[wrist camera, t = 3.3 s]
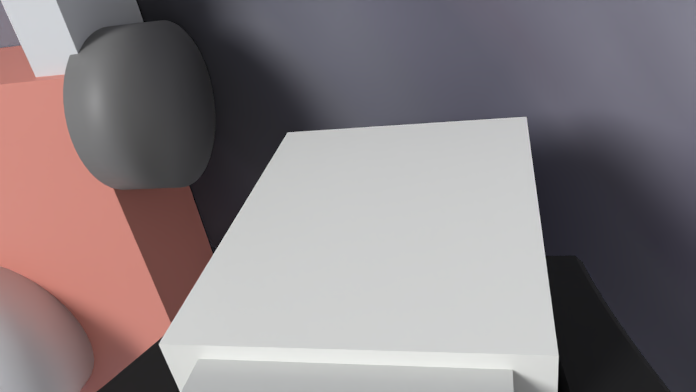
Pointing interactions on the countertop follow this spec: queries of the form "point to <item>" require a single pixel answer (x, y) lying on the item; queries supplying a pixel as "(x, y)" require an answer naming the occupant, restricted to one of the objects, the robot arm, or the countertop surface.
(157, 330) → the toy car
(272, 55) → the countertop surface
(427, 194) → the white drawer box
